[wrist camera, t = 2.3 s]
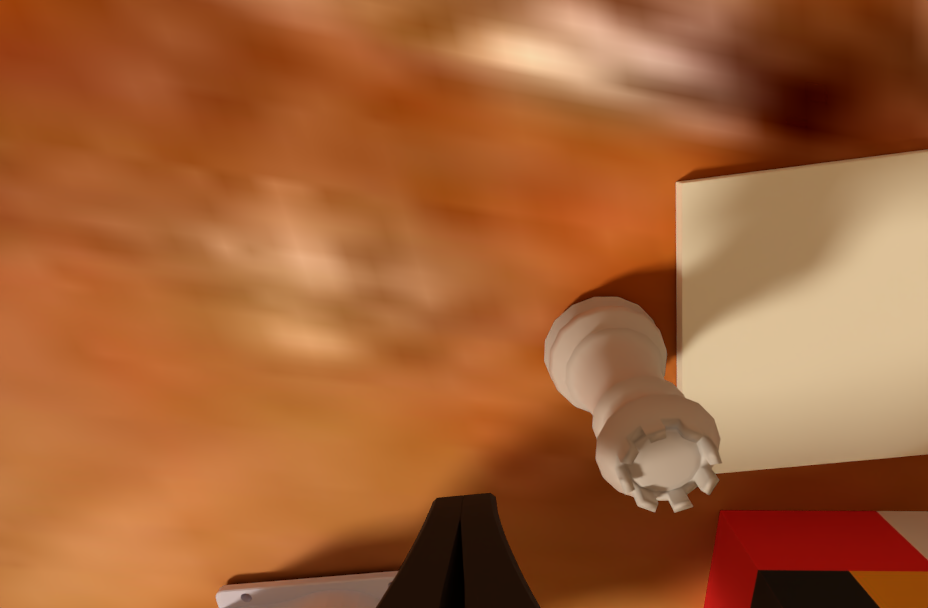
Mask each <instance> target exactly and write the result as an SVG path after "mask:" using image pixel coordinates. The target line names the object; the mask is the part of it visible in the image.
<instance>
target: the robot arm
mask: <svg viewBox="0 0 928 608" xmlns="http://www.w3.org/2000/svg"><path fill="white" fill-rule="evenodd" d="M248 594H249V595H248ZM216 601H217V604H218V606H219V608H540V606H539V604H538V603H537V601H536V599H535V597H534V595H533V594H532V592H531V590H530V588H529V586H528V584H527V582H526V581H525V579H524V577H523V575H522V573H521V571H520V569H519V567H518V564H517V562H516V560H515V558H514V555H513V553H512V551H511V549H510V546H509V544H508V542H507V539H506V537H505V534H504V531H503V528H502V525H501V522H500V519H499V515H498V510H497V503H496V497H495V496H494V495H492V494H491V493H485V494H474V495H464V497H463V496H453V497H442V498H437V499H436V500H435V501H434V502H433V503H432V506H431V508H430V511H429V513H428V515H427V517H426V520H425V522H424V524H423V526H422V528H421V530H420V532H419V534H418V536H417V538H416V540H415V542H414V544H413V546H412V548H411V550H410V551H409V553H408V555H407V557H406V559H405V560H404V562H403V564H402V566H401V568H400V569H399V571H390V572H378V573H366V574H353V575H341V576H329V577H317V578H305V579H293V580H281V581H269V582H257V583H245V584H233V585H224V586H222V587H221V588H220V589H219V591H218V592H217V594H216Z"/></svg>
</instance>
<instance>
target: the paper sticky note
mask: <svg viewBox="0 0 928 608" xmlns="http://www.w3.org/2000/svg"><path fill="white" fill-rule="evenodd" d="M676 307H677V388H678V389H679V390H680V391H681V392H682V393H683V394H684V396H685V398H687V399H689V400H692V401H695V402H697V403H699V404H700V405H701V406H702V407H703V408H704V409H705V410H706V411H707V412H708V413H709V414H710V415H711V416H712V417H713V418H714V420H715V423H716V426H717V429H718V432H719V435H720V438H721V439H720V445H719V451H718V452H719V455H720V458H721V461H722V463H721V464H714V466H713V467H712V470H713V472H714V473H715V474H719V473H730V472H741V471H752V470H763V469H774V468H785V467H796V466H806V465H817V464H828V463H839V462H850V461H861V460H872V459H883V458H894V457H905V456H916V455H927V454H928V149H927V150H919V151H911V152H904V153H896V154H888V155H880V156H872V157H865V158H857V159H849V160H841V161H834V162H826V163H818V164H810V165H803V166H795V167H787V168H779V169H772V170H764V171H756V172H748V173H741V174H733V175H725V176H717V177H709V178H702V179H694V180H686V181H678V182H676Z"/></svg>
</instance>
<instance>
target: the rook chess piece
mask: <svg viewBox="0 0 928 608" xmlns="http://www.w3.org/2000/svg"><path fill="white" fill-rule="evenodd" d="M666 360H667V350H666V347H665V344H664V341H663V338H662V335H661V332H660V330H659V329H658V328H657V327H656V326H655V323H654V320H653V319H652V318H651V317H650V316H649V315H648V314H647V313H646V312H645V311H644V310H643V309H642V308H641V307H640V306H639V305H637V304H635V303H632V302H630V301H627V300H625V299H622V298H620V297H592V298H590V299H587V300H584V301H582V302H579V303H577V304H574V305H572V306H571V307H570V308H568V309H567V310H566V311H565V312H564V313H563V314H562V315H561V316H560V317H558V318H557V319H556V320H555V321H554V323H553V325H552V327H551V329H550V332H549V334H548V336H547V338H546V340H545V356H544V362H545V364H546V367H547V369H548V371H549V374H550V376H551V379H552V380H553V382H554V384H555V386H556V389H557V390H558V391H559V392H560V393H561V394H562V395H563V396H564V397H565V398H566V399H567V400H568V401H570V402H571V403H572V404H573V405H574V406H575V407H577V408H580V409H583V410H585V411H588V412H591V414H592V415H593V423H592V428H593V431H594V433H595V436H596V438H597V445H596V458H595V459H596V462H597V464H598V466H599V469H600V471H601V474H602V476H603V478H604V479H605V480H606V481H607V482H608V483H610V484H611V485H612V486H613V487H614V488H615V489H616V490H617V491H618V492H621V493H623V494H625V495H629V496H632V497H634V499H635V501H636V504H637V506H638V507H641V508H644V509H646V510H649V511H652V512H655V511H656V509H657V506H658V502H657V501H669V503H670V505H671V507H672V509H673V511H674V513H675V512H679V511H682V510H685V509H688V508H691V507H693V505H692V503H691V501H690V500H689V498H688V496H687V494H688V493H690V492H691V491H693V490H694V489H695V488H697V487H699V488H700V490H701V491H703V492H705V493H706V494H708V495H710V494H711V492H712V491H713V489H714V488H715V486H716V485H717V483H718V482H719V479H718V477H717V476H716V474H715V473H714V472H713V470H712V467H713V466H714V464H721V463H722V461H721V458H720V455H719V452H718V451H719V445H720V439H721V438H720V435H719V432H718V429H717V426H716V423H715V420H714V418H713V417H712V416H711V415H710V414H709V413H708V412H707V411H706V410H705V409H704V408H703V407H702V406H701V405H700V404H699V403H697V402H695V401H692V400H689V399H687V398H685V396H684V394H683V393H682V392H681V391H680V390H679V389H678V388H677V387H676V386H675V385H674V384H673V383H671V382H668V381H666V380H664V375H665V368H666Z"/></svg>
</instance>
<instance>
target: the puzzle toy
mask: <svg viewBox="0 0 928 608" xmlns="http://www.w3.org/2000/svg"><path fill="white" fill-rule="evenodd" d="M704 608H928V511H771V510H720V514H719V520H718V526H717V532H716V538H715V544H714V550H713V556H712V562H711V568H710V574H709V580H708V586H707V592H706V598H705V604H704Z"/></svg>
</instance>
